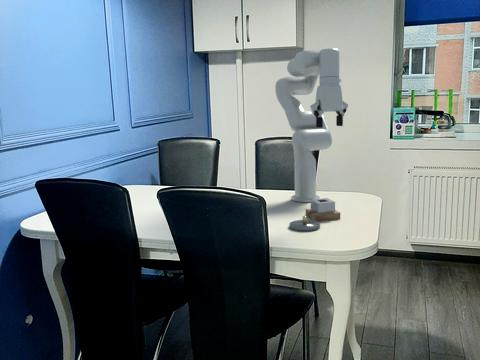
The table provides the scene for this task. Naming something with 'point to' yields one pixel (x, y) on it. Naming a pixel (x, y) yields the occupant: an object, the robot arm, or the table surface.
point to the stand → (322, 215)
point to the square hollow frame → (322, 205)
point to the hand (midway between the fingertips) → (329, 126)
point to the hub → (304, 225)
